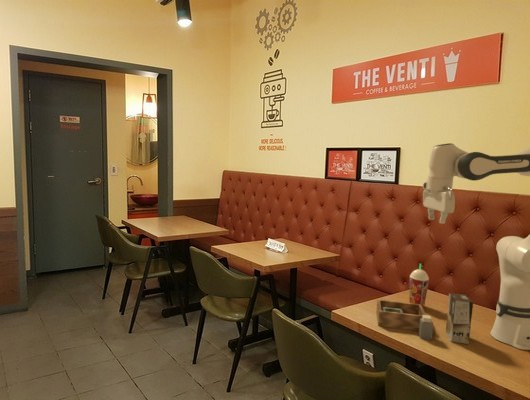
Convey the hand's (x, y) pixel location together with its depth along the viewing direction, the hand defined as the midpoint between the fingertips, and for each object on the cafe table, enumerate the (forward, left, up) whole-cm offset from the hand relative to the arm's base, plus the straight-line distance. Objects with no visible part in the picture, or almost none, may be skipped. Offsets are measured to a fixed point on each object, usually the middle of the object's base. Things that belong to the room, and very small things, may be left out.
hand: (436, 221), depth 154 cm
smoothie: (0, -26, -44) cm, 51 cm away
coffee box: (-10, +5, -44) cm, 45 cm away
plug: (+2, +8, -44) cm, 44 cm away
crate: (+10, -4, -44) cm, 45 cm away
